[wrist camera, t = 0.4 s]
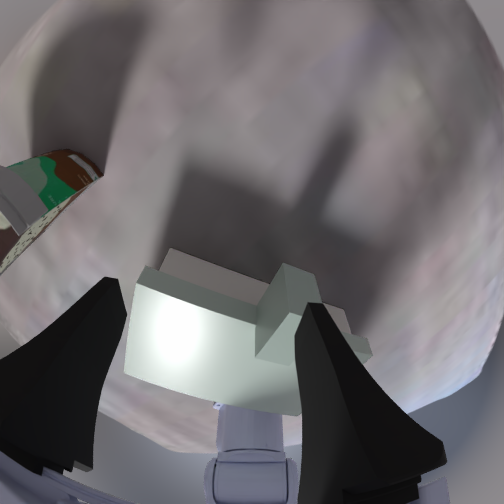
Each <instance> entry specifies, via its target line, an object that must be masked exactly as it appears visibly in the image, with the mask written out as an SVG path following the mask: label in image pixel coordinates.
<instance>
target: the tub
mask: <svg viewBox="0 0 504 504" xmlns="http://www.w3.org/2000/svg"><path fill="white" fill-rule="evenodd" d="M159 271H161V272H164V273H166V274H169V275H171V276H174V277H177V278H179V279H182V280H185V281H187V282H190V283H193V284H196V285H198V286H201V287H204V288H207V289H209V290H212V291H215V292H218V293H221V294H224V295H227V296H229V297H232V298H235V299H238V300H241V301H244V302H247V303H250V304H253V305H256V306H257V304H258V302H259V301H260V299H261V298H262V296H263V294H264V293H265V291H266V290H267V288H268V286H269V285H270V284H268V283H265V282H262V281H259V280H256V279H254V278H251V277H248V276H245V275H243V274H240V273H237V272H234V271H232V270H229V269H226V268H223V267H221V266H218V265H215V264H213V263H210V262H207V261H205V260H202V259H199V258H197V257H194V256H191V255H189V254H186V253H183V252H181V251H178V250H175V249H173V248H170V249H169V251H168V253H167V255H166V257H165V259H164V261H163V263H162V265H161V267H160V269H159ZM323 304H324V306H325V307H326V309H327V310H328V312H329V314H330V315H331V317H332V319H333V320H334V322H335V323H336V325H337V327H338V328H339V330H340V331H342V332H345V333H349V334H351V330H350V327H349V324H348V321H347V318H346V315H345V312H344V310H343V309H340V308H337V307H334V306H331V305H328V304H325V303H323Z"/></svg>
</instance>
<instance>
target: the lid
mask: <svg viewBox="0 0 504 504" xmlns="http://www.w3.org/2000/svg"><path fill="white" fill-rule="evenodd" d="M307 302H313V303H322V300H321V297H320V293H319V289H318V286H317V282H316V278H315V275H314V274H312V273H309V272H307V271H304V270H301V269H299V268H296V267H294V266H291V265H288V264H286V263H282V265H281V267H280V268H279V270H278V272H277V273H276V275H275V277H274V278H273V280H272V281H271V283H270V285H269V286H268V288H267V290H266V291H265V293H264V294H263V296H262V298H261V299H260V301H259V302H258V304H257V306H256V305H253V304H250V303H247V302H244V301H241V300H238V299H235V298H232V297H229V296H227V295H224V294H221V293H218V292H215V291H212V290H209V289H207V288H204V287H201V286H198V285H196V284H193V283H190V282H187V281H185V280H182V279H179V278H177V277H174V276H171V275H169V274H166V273H164V272H161V271H158V270H156V269H153V268H151V267H148V266H145V268H144V270H143V271H142V273H141V275H140V277H139V279H138V280H137V282H136V287H135V292H134V298H133V304H132V310H131V316H130V323H129V331H128V338H127V347H126V356H125V366H124V373H125V374H128V375H131V376H133V377H136V378H139V379H141V380H144V381H147V382H150V383H152V384H155V385H158V386H161V387H164V388H168V389H171V390H174V391H177V392H181V393H184V394H187V395H191V396H195V397H198V398H202V399H206V400H210V401H214V402H218V403H222V404H227V405H231V406H236V407H241V408H246V409H251V410H257V411H263V412H269V413H276V414H283V415H290V416H298V415H300V414H301V413H302V408H301V401H300V393H299V386H298V379H297V371H296V364H295V345H294V335H295V333H296V330H297V328H298V325H299V323H300V320H301V318H302V315H303V313H304V310H305V308H306V305H307ZM340 332H341V333H342V335H343V336H344V338H345V340H346V341H347V343H348V344H349V346H350V347H351V349H352V350H353V352H354V353H355V355H356V356H357V357H358V359H359V360H360V362H361V363H362V364H364V363H365V362H366V361H367V360H369V359H370V358H371V357H372V356H373V354H372V351H371V348H370V345H369V342H368V339H367V338H364V337H360V336H356V335H352V334H349V333H345V332H342V331H340Z"/></svg>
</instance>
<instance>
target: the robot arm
mask: <svg viewBox="0 0 504 504" xmlns="http://www.w3.org/2000/svg"><path fill="white" fill-rule="evenodd" d="M126 317H127V312H126V309H125V305H124V301H123V297H122V293H121V289H120V285H119V281H118V279H115V278H109V277H104V278H103V279H101V280H100V281H99V282H98V283H97V284H96V285H94V286H93V287H92V288H91V289H90V290H89V291H88V292H87V293H86V294H85V295H83V296H82V297H81V298H80V299H79V300H78V301H77V302H76V303H75V304H73V305H72V306H71V307H70V308H69V309H68V310H67V311H66V312H65V313H63V314H62V315H61V316H60V317H59V318H58V319H56V320H55V321H54V322H53V323H52V324H51V325H49V326H48V327H47V328H46V329H45V330H43V331H42V332H41V333H40V334H38V335H37V336H36V337H34V338H33V339H32V340H30V341H29V342H27V343H26V344H25V345H23V346H21V347H20V348H18V349H17V350H15V351H14V352H12V353H11V354H9V355H7V356H6V357H4V358H2V359H0V504H87V503H90V504H139V503H136V502H132V501H128V500H125V499H122V498H119V497H115V496H113V495H110V494H107V493H104V492H101V491H99V490H96V489H93V488H91V487H88V486H86V485H83V484H81V483H79V482H77V481H74V480H72V479H70V478H68V477H66V476H64V475H63V470H64V469H65V470H67V471H69V472H72V470H73V467H75V468H78V469H80V470H83V471H85V472H88V471H91V470H92V469H93V443H94V432H95V423H96V417H97V410H98V405H99V400H100V395H101V391H102V387H103V384H104V381H105V378H106V375H107V373H108V370H109V367H110V365H111V362H112V359H113V357H114V354H115V352H116V349H117V346H118V344H119V341H120V339H121V336H122V332H123V329H124V325H125V321H126ZM294 345H295V364H296V371H297V379H298V386H299V393H300V401H301V408H302V463H301V476H300V485H299V493H298V473H297V465H296V462H295V461H294V460H292V458H286V459H285V452H284V448H283V425H282V414H276V413H269V412H263V411H257V410H251V409H246V408H241V407H236V406H231V405H227V404H222V403H218V402H215V403H214V404H213V408H214V409H218V410H219V416H218V427H217V438H216V446H217V449H218V451H219V452H218V458H213V459H212V460H211V461H209V463H208V464H207V466H206V469H205V475H204V492H205V497H206V504H297V498H298V504H450V500H449V492H448V486H447V480H446V477H442V478H439V479H437V480H434V481H432V482H430V483H427V484H424V485H421V486H418V485H417V483H420V482H421V475H422V474H424V473H427V472H429V471H431V470H434V469H436V468H438V467H440V466H443V465H445V464H446V463H447V458H446V454H445V450H444V445H443V442H442V441H441V440H439V439H438V438H437V437H435V436H434V435H432V434H430V433H429V432H428V431H426V430H425V429H424V428H423V427H421V426H420V425H419V424H418V423H416V422H415V421H414V420H413V419H412V418H410V417H409V416H408V415H407V414H406V413H405V412H404V411H403V410H402V409H401V408H400V407H399V406H398V405H397V404H396V403H395V402H394V401H393V400H392V399H391V398H390V397H389V396H388V395H387V394H386V393H385V392H384V391H383V390H382V388H381V387H380V386H379V385H378V384H377V383H376V381H375V380H374V379H373V378H372V376H371V375H370V374H369V373H368V371H367V370H366V369H365V367H364V366H363V364H362V363H361V362H360V360H359V359H358V357H357V356H356V355H355V353H354V352H353V350H352V349H351V347H350V346H349V344H348V343H347V341H346V340H345V338H344V336H343V335H342V333H341V332H340V330H339V328H338V327H337V325H336V323H335V322H334V320H333V319H332V317H331V315H330V314H329V312H328V310H327V309H326V307H325V306H324V304H323V303H313V302H307V305H306V308H305V310H304V313H303V315H302V318H301V320H300V323H299V325H298V328H297V330H296V333H295V335H294ZM77 498H78V499H80V500H83V501H85V502H87V503H83V502H79V501H78V500H77Z"/></svg>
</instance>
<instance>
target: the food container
mask: <svg viewBox="0 0 504 504" xmlns="http://www.w3.org/2000/svg"><path fill="white" fill-rule="evenodd" d="M103 176H104V175H103V174H102V173H101V171H100V170H99V169H98V167H97V166H96V165H95V164H94V163H93V162H92V161H90V160H89V159H88V158H87V157H85V156H84V155H83V154H81V153H78V152H75V151H72V150H69V149H64V150H56V151H52V152H48V153H45V154H42V155H39V156H36V157H33V158H30V159H27V160H24V161H21V162H19V163H16V164H13V165H11V166H8V167H3V166H0V276H1V274H2V273H3V272H4V271H5V270H6V269H7V268H8V267H9V266H10V265H11V264H12V263H13V262H14V261H15V260H16V259H17V258H18V257H19V256H20V255H21V254H22V253H23V252H24V251H25V250H26V249H27V248H28V247H29V246H30V245H31V244H32V243H33V242H34V241H35V240H36V239H37V238H38V237H39V236H40V235H42V234H43V233H44V232H45V231H46V230H47V229H48V228H49V227H50V226H51V225H52V224H53V223H54V221H55V220H56V219H57V218H58V217H59V216H60V215H61V214H62V213H63V212H64V211H65V210H66V209H67V208H68V207H69V206H71V205H72V204H73V203H74V202H75V201H76V200H77V199H78V198H79V197H80V196H81V195H82V194H83V193H84V192H85V191H87V190H88V189H89V188H90V187H91V186H92V185H93V184H94V183H96V182H97V181H98V180H99V179H100V178H101V177H103Z"/></svg>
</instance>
